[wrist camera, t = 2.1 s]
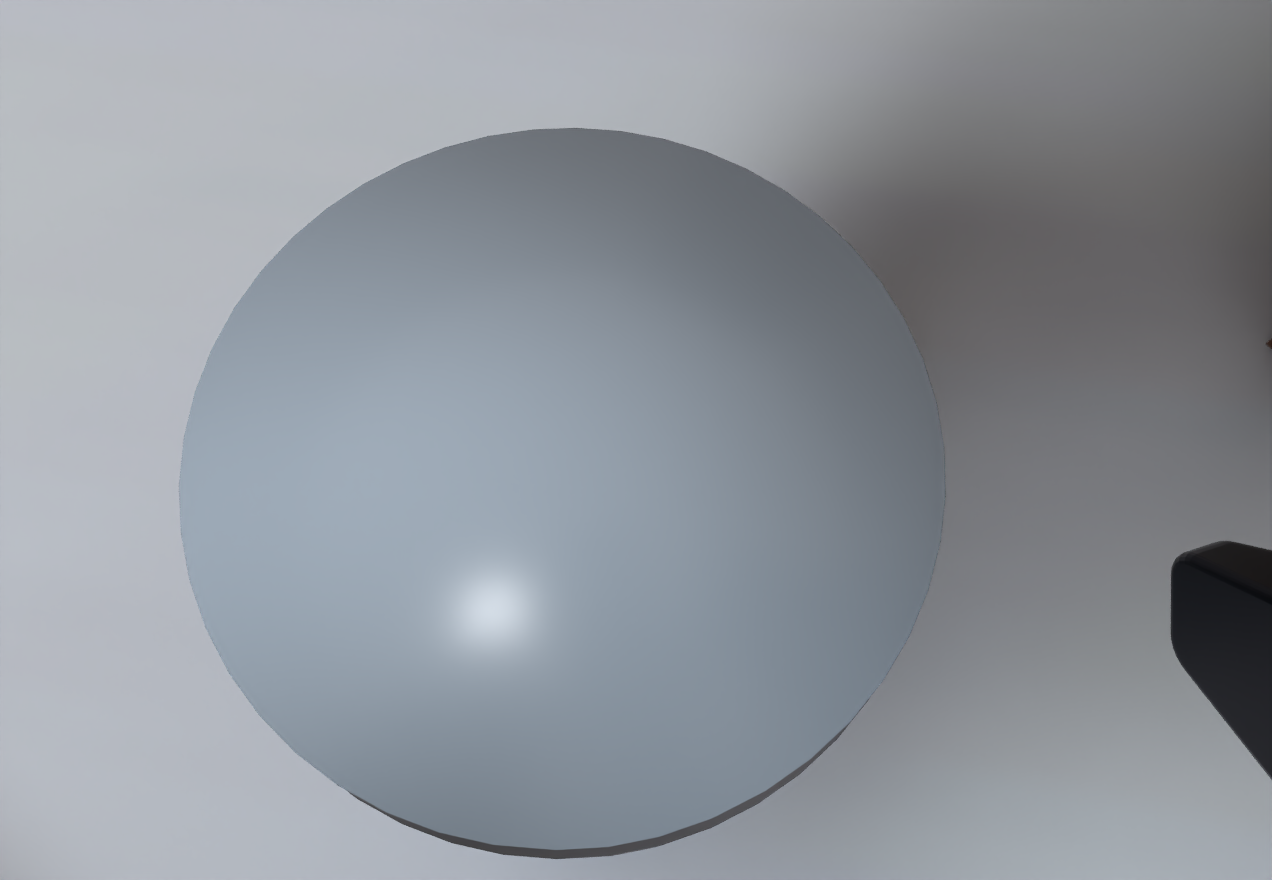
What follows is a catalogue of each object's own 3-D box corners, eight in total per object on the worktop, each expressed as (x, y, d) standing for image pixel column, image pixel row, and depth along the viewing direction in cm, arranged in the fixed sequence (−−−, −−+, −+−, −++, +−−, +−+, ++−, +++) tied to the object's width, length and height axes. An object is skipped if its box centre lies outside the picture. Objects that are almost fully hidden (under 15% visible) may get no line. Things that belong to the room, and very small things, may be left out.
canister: (730, 878, 17) (936, 921, 6) (425, 832, 17) (60, 788, 6) (761, 578, 19) (966, 168, 8) (484, 539, 19) (285, 84, 8)
